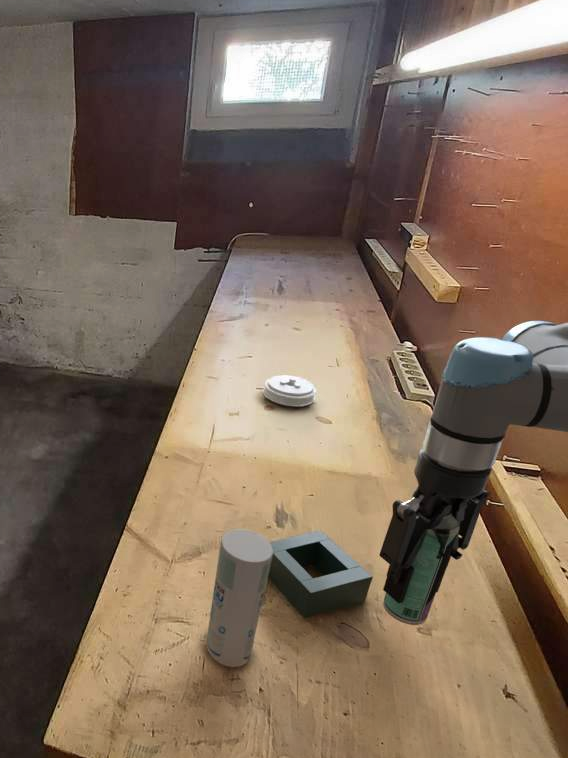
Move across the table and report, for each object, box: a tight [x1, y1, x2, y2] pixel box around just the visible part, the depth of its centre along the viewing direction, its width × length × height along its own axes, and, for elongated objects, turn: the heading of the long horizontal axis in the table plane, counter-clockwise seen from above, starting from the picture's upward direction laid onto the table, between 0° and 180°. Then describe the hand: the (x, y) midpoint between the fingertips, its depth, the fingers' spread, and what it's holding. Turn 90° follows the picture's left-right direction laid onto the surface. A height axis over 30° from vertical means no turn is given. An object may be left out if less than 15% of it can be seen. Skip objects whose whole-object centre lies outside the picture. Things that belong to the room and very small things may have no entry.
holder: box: [268, 529, 374, 620], centre depth 92 cm, size 11×11×6 cm
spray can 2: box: [382, 512, 460, 626], centre depth 79 cm, size 6×6×20 cm
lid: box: [263, 374, 317, 407], centre depth 151 cm, size 13×13×5 cm
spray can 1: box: [206, 528, 273, 668], centre depth 79 cm, size 6×6×20 cm
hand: (410, 590), depth 82 cm, fingers closed on spray can 2, 5 cm apart
